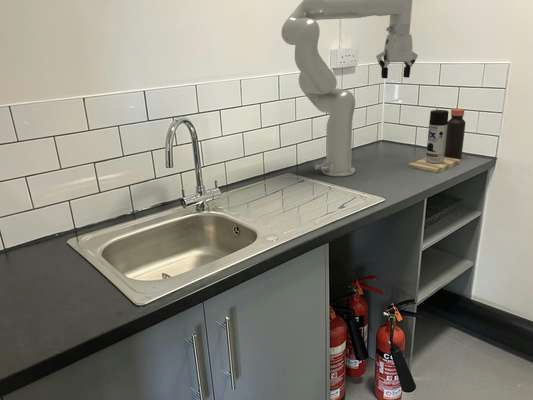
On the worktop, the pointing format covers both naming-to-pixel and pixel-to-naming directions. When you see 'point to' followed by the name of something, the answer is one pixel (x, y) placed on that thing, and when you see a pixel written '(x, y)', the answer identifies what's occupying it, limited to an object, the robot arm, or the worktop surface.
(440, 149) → the spray can
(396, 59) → the robot arm
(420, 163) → the oak board
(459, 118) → the bottle
